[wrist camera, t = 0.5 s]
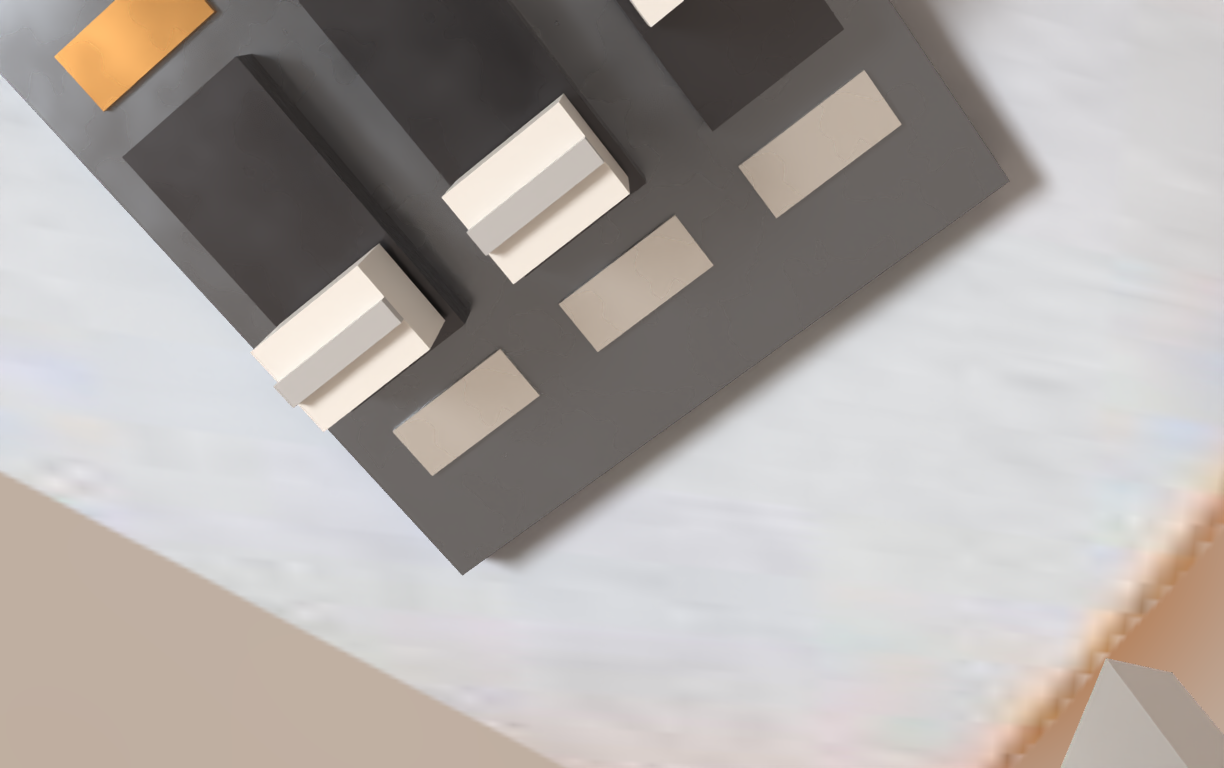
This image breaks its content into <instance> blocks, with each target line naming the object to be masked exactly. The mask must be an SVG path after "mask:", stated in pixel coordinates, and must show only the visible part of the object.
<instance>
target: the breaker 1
mask: <svg viewBox="0 0 1224 768" xmlns="http://www.w3.org/2000/svg"><path fill="white" fill-rule="evenodd" d="M444 322H445V320H444V318H443V317H442V316H441V315H440V314H439V313H438V311H437V310H436V309H435V308H434V307H433V306H432V304H431V303H430V302H429V301H428V300H427V299H426V297H425V296H424V295H423V294H422V293H421V292H420V290H419V289H418V288H417V287H416V286H415V285H414V283H413V282H412V281H411V280H410V279H409V278H408V276H407V275H406V274H405V273H404V272H403V271H402V269H401V268H400V267H399V266H398V265H397V264H396V262H395V261H394V260H393V259H392V258H391V257H390V255H389V254H388V253H387V252H386V251H385V250H384V248H383V247H382V246H381V245H380V244H378V245H376V246H375V247H374V248H373V249H371V250H370V251H369V252H368V253H367V254H365V255H364V256H363V257H362V258H360V259H359V260H358V261H357V262H355V263H354V264H353V265H352V266H351V267H349V268H348V269H347V270H346V271H344V272H343V273H342V274H341V275H339V276H338V277H337V278H336V279H335V280H333V281H332V282H331V283H330V284H328V285H327V286H326V287H325V288H323V289H322V290H321V291H320V292H319V293H317V294H316V295H315V296H314V297H312V298H311V299H310V300H309V301H307V302H306V303H305V304H304V305H303V306H301V307H300V308H299V309H298V310H296V311H295V312H294V313H293V314H291V315H290V316H289V317H288V318H287V319H285V320H284V321H283V322H282V323H280V324H279V325H278V326H277V327H276V328H275V329H274V330H273V331H272V332H271V333H270V334H269V335H268V336H267V337H266V338H265V339H264V340H263V341H262V342H261V343H260V344H259V345H258V346H256V347H255V348H254V349H253V350H252V351H251V352H250V353H251V354H252V355H253V356H254V357H255V358H256V359H257V360H258V362H259V363H260V364H261V365H262V366H263V367H264V368H265V369H266V370H267V371H268V372H269V373H270V375H271V376H272V377H273V378H274V379H275V380H276V381H277V383H276V384H275V386H274V388H275V389H276V390H277V391H278V392H279V393H280V394H281V395H282V397H283V398H284V399H285V400H286V401H287V402H288V403H289V404H290V405H291V406H292V407H293V408H294V407H295V406H297V405H299V406H300V407H301V408H302V409H303V410H304V411H305V412H306V414H307V415H308V416H309V417H310V418H311V419H312V420H313V421H314V422H315V423H316V424H317V425H318V427H319V428H320V429H321V430H322V431H323V432H324V431H326V430H327V429H328V428H330V427H331V426H332V425H333V424H335V423H336V422H337V421H339V420H340V419H341V418H342V417H344V416H345V415H346V414H348V413H349V412H350V411H351V410H353V409H354V408H355V407H357V406H358V405H359V404H360V403H362V402H363V401H364V400H366V399H367V398H368V397H369V396H371V395H372V394H373V393H375V392H376V391H377V390H378V389H380V388H381V387H382V386H383V385H385V384H386V383H387V382H389V381H390V380H391V379H392V378H394V377H395V376H396V375H398V374H399V373H400V372H401V371H403V370H404V369H405V368H407V367H408V366H409V365H410V364H412V363H413V362H414V361H416V360H417V359H418V358H419V357H421V356H422V355H423V354H425V353H426V352H427V351H428V350H430V348H431V347H432V345H433V343H434V341H435V339H436V337H437V335H438V333H439V331H440V329H441V328H442V326H443V324H444Z"/></svg>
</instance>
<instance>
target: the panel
mask: <svg viewBox="0 0 1224 768" xmlns="http://www.w3.org/2000/svg"><path fill="white" fill-rule="evenodd" d="M0 74H1V75H2V76H3V77H4V78H5V79H6V80H7V81H8V83H9V84H10V85H11V86H12V87H13V88H14V89H15V90H16V91H17V92H18V93H19V94H20V96H21V97H22V98H23V99H24V100H25V101H26V102H27V103H28V104H29V105H30V106H31V108H32V109H33V110H34V111H35V112H36V113H37V114H38V115H39V116H40V117H41V118H42V119H43V121H44V122H45V123H46V124H47V125H48V126H49V127H50V128H51V129H52V130H53V131H54V132H55V134H56V135H57V136H58V137H59V138H60V139H61V140H62V141H63V142H64V143H65V144H66V146H67V147H68V148H69V149H70V150H71V151H72V152H73V153H74V154H75V155H76V156H77V157H78V159H79V160H80V161H81V162H82V163H83V164H84V165H85V166H86V167H87V168H88V169H89V171H90V172H91V173H92V174H93V175H94V176H95V177H96V178H97V179H98V180H99V181H100V182H101V184H102V185H103V186H104V187H105V188H106V189H107V190H108V191H109V192H110V193H111V194H112V195H113V197H114V198H115V199H116V200H117V201H118V202H119V203H120V204H121V205H122V206H123V207H124V209H125V210H126V211H127V212H128V213H129V214H130V215H131V216H132V217H133V218H134V219H135V220H136V222H137V223H138V224H139V225H140V226H141V227H142V228H143V229H144V230H145V231H146V232H147V233H148V235H149V236H150V237H151V238H152V239H153V240H154V241H155V242H156V243H157V244H158V245H159V247H160V248H161V249H162V250H163V251H164V252H165V253H166V254H167V255H168V256H169V257H170V258H171V260H172V261H173V262H174V263H175V264H176V265H177V266H178V267H179V268H180V269H181V270H182V271H183V273H184V274H185V275H186V276H187V277H188V278H189V279H190V280H191V281H192V282H193V283H194V285H195V286H196V287H197V288H198V289H199V290H200V291H201V292H202V293H203V294H204V295H205V296H206V298H207V299H208V300H209V301H210V302H211V303H212V304H213V305H214V306H215V307H216V308H217V309H218V311H219V312H220V313H221V314H222V315H223V316H224V317H225V318H226V319H227V320H228V321H229V323H230V324H231V325H232V326H233V327H234V328H235V329H236V330H237V331H238V332H239V333H240V334H241V336H242V337H243V338H244V339H245V340H246V341H247V342H248V343H249V344H250V345H251V346H252V347H253V349H254V348H255V347H256V346H258V345H259V344H260V343H261V342H262V341H263V340H264V339H265V338H266V337H267V336H268V335H269V334H270V333H271V332H272V331H273V330H274V329H275V328H276V327H277V326H278V325H279V324H280V323H282V322H283V321H284V320H285V319H287V318H288V317H289V316H290V315H291V314H293V313H294V312H295V311H296V310H298V309H299V308H300V307H301V306H303V305H304V304H305V303H306V302H307V301H309V300H310V299H311V298H312V297H314V296H315V295H316V294H317V293H319V292H320V291H321V290H322V289H323V288H325V287H326V286H327V285H328V284H330V283H331V282H332V281H333V280H335V279H336V278H337V277H338V276H339V275H341V274H342V273H343V272H344V271H346V270H347V269H348V268H349V267H351V266H352V265H353V264H354V263H355V262H357V261H358V260H359V259H360V258H362V257H363V256H364V255H365V254H367V253H368V252H369V251H370V250H371V249H373V248H374V247H375V246H376V245H378V244H380V245H381V246H382V247H383V248H384V250H385V251H386V252H387V253H388V254H389V255H390V257H391V258H392V259H393V260H394V261H395V262H396V264H397V265H398V266H399V267H400V268H401V269H402V271H403V272H404V273H405V274H406V275H407V276H408V278H409V279H410V280H411V281H412V282H413V283H414V285H415V286H416V287H417V288H418V289H419V290H420V292H421V293H422V294H423V295H424V296H425V297H426V299H427V300H428V301H429V302H430V303H431V304H432V306H433V307H434V308H435V309H436V310H437V311H438V313H439V314H440V315H441V316H442V317H443V318H444V320H445V322H444V324H443V326H442V328H441V329H440V331H439V333H438V335H437V337H436V339H435V341H434V343H433V345H432V347H431V348H430V350H428V351H427V352H426V353H425V354H423V355H422V356H421V357H419V358H418V359H417V360H416V361H414V362H413V363H412V364H410V365H409V366H408V367H407V368H405V369H404V370H403V371H401V372H400V373H399V374H398V375H396V376H395V377H394V378H392V379H391V380H390V381H389V382H387V383H386V384H385V385H383V386H382V387H381V388H380V389H378V390H377V391H376V392H375V393H373V394H372V395H371V396H369V397H368V398H367V399H366V400H364V401H363V402H362V403H360V404H359V405H358V406H357V407H355V408H354V409H353V410H351V411H350V412H349V413H348V414H346V415H345V416H344V417H342V418H341V419H340V420H339V421H337V422H336V423H335V424H333V425H332V426H331V427H330V428H328V430H329V431H330V432H331V433H332V434H333V435H334V437H335V438H336V439H337V440H338V441H339V442H340V443H341V444H342V445H343V446H344V447H345V448H346V450H347V451H348V452H349V453H350V454H351V455H352V456H353V457H354V458H355V459H356V460H357V461H358V463H359V464H360V465H361V466H362V467H363V468H364V469H365V470H366V471H367V472H368V473H369V475H370V476H371V477H372V478H373V479H374V480H375V481H376V482H377V483H378V484H379V485H380V486H381V488H382V489H383V490H384V491H385V492H386V493H387V494H388V495H389V496H390V497H391V498H392V499H393V501H394V502H395V503H396V504H397V505H398V506H399V507H400V508H401V509H402V510H403V511H404V513H405V514H406V515H407V516H408V517H409V518H410V519H411V520H412V521H413V522H414V523H415V524H416V526H417V527H418V528H419V529H420V530H421V531H422V532H423V533H424V534H425V535H426V536H427V537H428V539H429V540H430V541H431V542H432V543H433V544H434V545H435V546H436V547H437V548H438V549H439V551H440V552H441V553H442V554H443V555H444V556H445V557H446V558H447V559H448V560H449V561H450V562H451V564H452V565H453V566H454V567H455V568H456V569H457V570H458V571H459V572H460V573H461V574H462V575H464V574H465V573H466V572H468V571H469V570H471V569H472V568H473V567H475V566H476V565H478V564H479V563H480V562H482V561H483V560H485V559H486V558H487V557H489V556H490V555H491V554H493V553H494V552H496V551H497V550H498V549H500V548H501V547H503V546H504V545H505V544H507V543H508V542H509V541H511V540H512V539H514V538H515V537H516V536H518V535H519V534H521V533H522V532H523V531H525V530H526V529H528V528H529V527H530V526H532V525H533V524H534V523H536V522H537V521H539V520H540V519H541V518H543V517H544V516H546V515H547V514H548V513H550V512H551V511H552V510H554V509H555V508H557V507H558V506H559V505H561V504H562V503H564V502H565V501H566V500H568V499H569V498H571V497H572V496H573V495H575V494H576V493H577V492H579V491H580V490H582V489H583V488H584V487H586V486H587V485H589V484H590V483H591V482H593V481H594V480H595V479H597V478H598V477H600V476H601V475H602V474H604V473H605V472H607V471H608V470H609V469H611V468H612V467H614V466H615V465H616V464H618V463H619V462H620V461H622V460H623V459H625V458H626V457H627V456H629V455H630V454H632V453H633V452H634V451H636V450H637V449H638V448H640V447H641V446H643V445H644V444H645V443H647V442H648V441H650V440H651V439H652V438H654V437H655V436H657V435H658V434H659V433H661V432H662V431H663V430H665V429H666V428H668V427H669V426H670V425H672V424H673V423H675V422H676V421H677V420H679V419H680V418H681V417H683V416H684V415H686V414H687V413H688V412H690V411H691V410H693V409H694V408H695V407H697V406H698V405H700V404H701V403H702V402H704V401H705V400H706V399H708V398H709V397H711V396H712V395H713V394H715V393H716V392H718V391H719V390H720V389H722V388H723V387H724V386H726V385H727V384H729V383H730V382H731V381H733V380H734V379H736V378H737V377H738V376H740V375H741V374H743V373H744V372H745V371H747V370H748V369H749V368H751V367H752V366H754V365H755V364H756V363H758V362H759V361H761V360H762V359H763V358H765V357H766V356H767V355H769V354H770V353H772V352H773V351H774V350H776V349H777V348H779V347H780V346H781V345H783V344H784V343H786V342H787V341H788V340H790V339H791V338H792V337H794V336H795V335H797V334H798V333H799V332H801V331H802V330H804V329H805V328H806V327H808V326H809V325H810V324H812V323H813V322H815V321H816V320H817V319H819V318H820V317H822V316H823V315H824V314H826V313H827V312H829V311H830V310H831V309H833V308H834V307H835V306H837V305H838V304H840V303H841V302H842V301H844V300H845V299H847V298H848V297H849V296H851V295H852V294H853V293H855V292H856V291H858V290H859V289H860V288H862V287H863V286H865V285H866V284H867V283H869V282H870V281H872V280H873V279H874V278H876V277H877V276H878V275H880V274H881V273H883V272H884V271H885V270H887V269H888V268H890V267H891V266H892V265H894V264H895V263H896V262H898V261H899V260H901V259H902V258H903V257H905V256H906V255H908V254H909V253H910V252H912V251H913V250H915V249H916V248H917V247H919V246H920V245H921V244H923V243H924V242H926V241H927V240H928V239H930V238H931V237H933V236H934V235H935V234H937V233H938V232H939V231H941V230H942V229H944V228H945V227H946V226H948V225H949V224H951V223H952V222H953V221H955V220H956V219H958V218H959V217H960V216H962V215H963V214H964V213H966V212H967V211H969V210H970V209H971V208H973V207H974V206H976V205H977V204H978V203H980V202H981V201H982V200H984V199H985V198H987V197H988V196H989V195H991V194H992V193H994V192H995V191H996V190H998V189H999V188H1001V187H1002V186H1003V185H1005V184H1006V183H1007V182H1009V179H1008V178H1007V176H1006V175H1005V173H1004V172H1003V170H1002V169H1001V167H1000V166H999V164H998V163H997V161H996V160H995V158H994V157H993V155H992V154H991V152H990V151H989V149H988V148H987V146H986V145H985V143H984V142H983V140H982V139H981V137H980V136H979V134H978V133H977V131H976V130H975V128H974V127H973V125H972V124H971V122H970V121H969V119H968V118H967V116H966V115H965V113H964V112H963V110H962V109H961V107H960V106H959V104H958V103H957V101H956V100H955V98H954V97H953V95H952V94H951V92H950V91H949V89H948V88H947V86H946V85H945V83H944V82H943V80H942V79H941V77H940V76H939V74H938V73H937V71H936V70H935V68H934V67H933V65H932V64H931V62H930V61H929V59H928V58H927V56H926V55H925V53H924V52H923V50H922V49H921V47H920V46H919V44H918V43H917V41H916V39H915V38H914V36H913V35H912V33H911V32H910V30H909V29H908V27H907V26H906V24H905V23H904V21H903V20H902V18H901V17H900V15H899V14H898V12H897V11H896V9H895V8H894V6H893V5H892V3H891V2H890V0H684V1H683V2H682V3H680V4H679V5H678V6H677V7H675V8H674V9H673V10H672V11H670V12H669V13H668V14H667V15H666V16H664V17H663V18H662V19H661V20H659V21H658V22H657V23H656V24H654V25H653V26H652V27H650V26H648V25H647V24H646V22H645V21H644V19H643V18H642V17H641V15H640V14H639V13H638V11H637V10H636V9H635V7H634V6H633V4H632V3H631V2H630V0H0ZM563 93H564V95H565V96H566V97H567V98H568V100H569V101H570V102H571V104H572V105H573V106H574V107H575V109H576V110H577V111H578V113H579V114H580V115H581V117H582V118H583V119H584V120H585V122H586V123H587V124H588V126H589V127H590V128H591V130H592V131H593V132H594V133H595V135H596V136H597V137H598V139H599V140H600V141H601V143H602V144H603V145H604V146H605V148H606V149H607V150H608V152H609V153H610V154H611V155H612V157H613V158H614V159H615V161H616V162H617V163H618V165H619V166H620V167H621V168H622V170H623V171H624V172H625V174H626V175H627V176H628V180H629V191H630V194H629V195H628V196H626V197H625V198H624V199H622V200H621V201H620V202H619V203H617V204H616V205H615V206H613V207H612V208H611V209H610V210H608V211H607V212H606V213H604V214H603V215H602V216H601V217H599V218H598V219H597V220H595V221H594V222H593V223H592V224H590V225H589V226H588V227H586V228H585V229H584V230H583V231H581V232H580V233H579V234H577V235H576V236H575V237H574V238H572V239H571V240H570V241H568V242H567V243H566V244H565V245H563V246H562V247H561V248H559V249H558V250H557V251H556V252H554V253H553V254H552V255H550V256H549V257H548V258H547V259H545V260H544V261H543V262H541V263H540V264H539V265H538V266H536V267H535V268H534V269H532V270H531V271H530V272H529V273H527V274H526V275H525V276H523V277H522V278H521V279H520V280H518V281H517V282H516V283H514V284H513V283H512V282H511V281H510V280H509V278H508V277H507V276H506V275H505V274H504V272H503V271H502V270H501V269H500V267H499V266H498V265H497V264H496V263H495V261H494V260H493V259H492V258H491V257H490V255H489V254H488V255H487V256H485V254H484V253H483V252H482V251H481V250H480V248H479V247H478V246H477V245H476V244H475V242H474V241H473V240H472V239H471V238H470V236H469V235H468V234H467V233H466V232H467V231H468V229H467V228H466V226H465V225H464V224H463V223H462V222H461V220H460V219H459V218H458V217H457V216H456V214H455V213H454V212H453V211H452V210H451V208H450V207H449V206H448V205H447V204H446V202H445V201H444V200H443V199H442V196H443V195H444V194H445V193H446V192H447V190H448V189H449V188H450V187H451V186H452V185H453V184H454V183H455V181H456V180H458V179H459V178H460V177H461V176H463V175H464V174H465V173H466V172H467V171H469V170H470V169H471V168H472V167H474V166H475V165H476V164H477V163H479V162H480V161H481V160H482V159H483V158H485V157H486V156H487V155H488V154H490V153H491V152H492V151H493V150H494V149H496V148H497V147H498V146H499V145H501V144H502V143H503V142H504V141H506V140H507V139H508V138H509V137H510V136H512V135H513V134H514V133H515V132H517V131H518V130H519V129H520V128H522V127H523V126H524V125H525V124H526V123H528V122H529V121H530V120H531V119H533V118H534V117H535V116H536V115H538V114H539V113H540V112H541V111H542V110H544V109H545V108H546V107H547V106H549V105H550V104H551V103H552V102H554V101H555V100H556V99H557V98H558V97H560V96H561V95H562V94H563Z"/></svg>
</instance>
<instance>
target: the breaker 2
mask: <svg viewBox="0 0 1224 768" xmlns="http://www.w3.org/2000/svg"><path fill="white" fill-rule="evenodd" d="M629 194H630V191H629V180H628V176H627V175H626V174H625V172H624V171H623V170H622V168H621V167H620V166H619V165H618V163H617V162H616V161H615V159H614V158H613V157H612V155H611V154H610V153H609V152H608V150H607V149H606V148H605V146H604V145H603V144H602V143H601V141H600V140H599V139H598V137H597V136H596V135H595V133H594V132H593V131H592V130H591V128H590V127H589V126H588V124H587V123H586V122H585V120H584V119H583V118H582V117H581V115H580V114H579V113H578V111H577V110H576V109H575V107H574V106H573V105H572V104H571V102H570V101H569V100H568V98H567V97H566V96H565V95H564V93H563V94H562V95H561V96H560V97H558V98H557V99H556V100H555V101H554V102H552V103H551V104H550V105H549V106H547V107H546V108H545V109H544V110H542V111H541V112H540V113H539V114H538V115H536V116H535V117H534V118H533V119H531V120H530V121H529V122H528V123H526V124H525V125H524V126H523V127H522V128H520V129H519V130H518V131H517V132H515V133H514V134H513V135H512V136H510V137H509V138H508V139H507V140H506V141H504V142H503V143H502V144H501V145H499V146H498V147H497V148H496V149H494V150H493V151H492V152H491V153H490V154H488V155H487V156H486V157H485V158H483V159H482V160H481V161H480V162H479V163H477V164H476V165H475V166H474V167H472V168H471V169H470V170H469V171H467V172H466V173H465V174H464V175H463V176H461V177H460V178H459V179H458V180H456V181H455V183H454V184H453V185H452V186H451V187H450V188H449V189H448V190H447V192H446V193H445V194H444V195H443V196H442V199H443V200H444V201H445V202H446V204H447V205H448V206H449V207H450V208H451V210H452V211H453V212H454V213H455V214H456V216H457V217H458V218H459V219H460V220H461V222H462V223H463V224H464V225H465V226H466V228H467V229H468V231H467V232H466V233H467V234H468V235H469V236H470V238H471V239H472V240H473V241H474V242H475V244H476V245H477V246H478V247H479V248H480V250H481V251H482V252H483V253H484V254H485V256H487V255H488V254H489V255H490V257H491V258H492V259H493V260H494V261H495V263H496V264H497V265H498V266H499V267H500V269H501V270H502V271H503V272H504V274H505V275H506V276H507V277H508V278H509V280H510V281H511V282H512V283H513V284H514V283H516V282H517V281H518V280H520V279H521V278H522V277H523V276H525V275H526V274H527V273H529V272H530V271H531V270H532V269H534V268H535V267H536V266H538V265H539V264H540V263H541V262H543V261H544V260H545V259H547V258H548V257H549V256H550V255H552V254H553V253H554V252H556V251H557V250H558V249H559V248H561V247H562V246H563V245H565V244H566V243H567V242H568V241H570V240H571V239H572V238H574V237H575V236H576V235H577V234H579V233H580V232H581V231H583V230H584V229H585V228H586V227H588V226H589V225H590V224H592V223H593V222H594V221H595V220H597V219H598V218H599V217H601V216H602V215H603V214H604V213H606V212H607V211H608V210H610V209H611V208H612V207H613V206H615V205H616V204H617V203H619V202H620V201H621V200H622V199H624V198H625V197H626V196H628V195H629Z"/></svg>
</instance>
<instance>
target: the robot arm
mask: <svg viewBox="0 0 1224 768" xmlns="http://www.w3.org/2000/svg"><path fill="white" fill-rule="evenodd" d="M1061 768H1224V734H1223V733H1222V732H1221V731H1220V729H1219V728H1218V727H1217V726H1216V725H1215V723H1214V722H1213V721H1212V720H1211V719H1210V717H1209V716H1208V715H1207V714H1206V713H1205V711H1204V710H1203V709H1202V708H1201V707H1200V705H1199V704H1198V703H1197V702H1196V701H1195V699H1194V698H1193V697H1192V696H1191V695H1190V693H1189V692H1188V691H1187V690H1186V689H1185V687H1184V686H1183V685H1182V684H1181V683H1180V681H1179V680H1178V679H1177V678H1176V677H1175V675H1174V674H1173V673H1172V672H1167V671H1162V670H1158V669H1153V668H1149V667H1144V666H1139V665H1135V664H1130V663H1126V662H1121V661H1116V660H1112V659H1107V658H1106V660H1105V662H1104V665H1103V667H1102V669H1101V672H1100V674H1099V677H1098V679H1097V682H1096V684H1095V686H1094V689H1093V691H1092V693H1091V696H1090V698H1089V701H1088V703H1087V706H1086V708H1085V710H1084V713H1083V715H1082V717H1081V720H1080V722H1079V725H1078V727H1077V729H1076V732H1075V734H1074V737H1073V739H1072V741H1071V744H1070V746H1069V749H1068V751H1067V753H1066V756H1065V758H1064V761H1063V763H1062V766H1061Z"/></svg>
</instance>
